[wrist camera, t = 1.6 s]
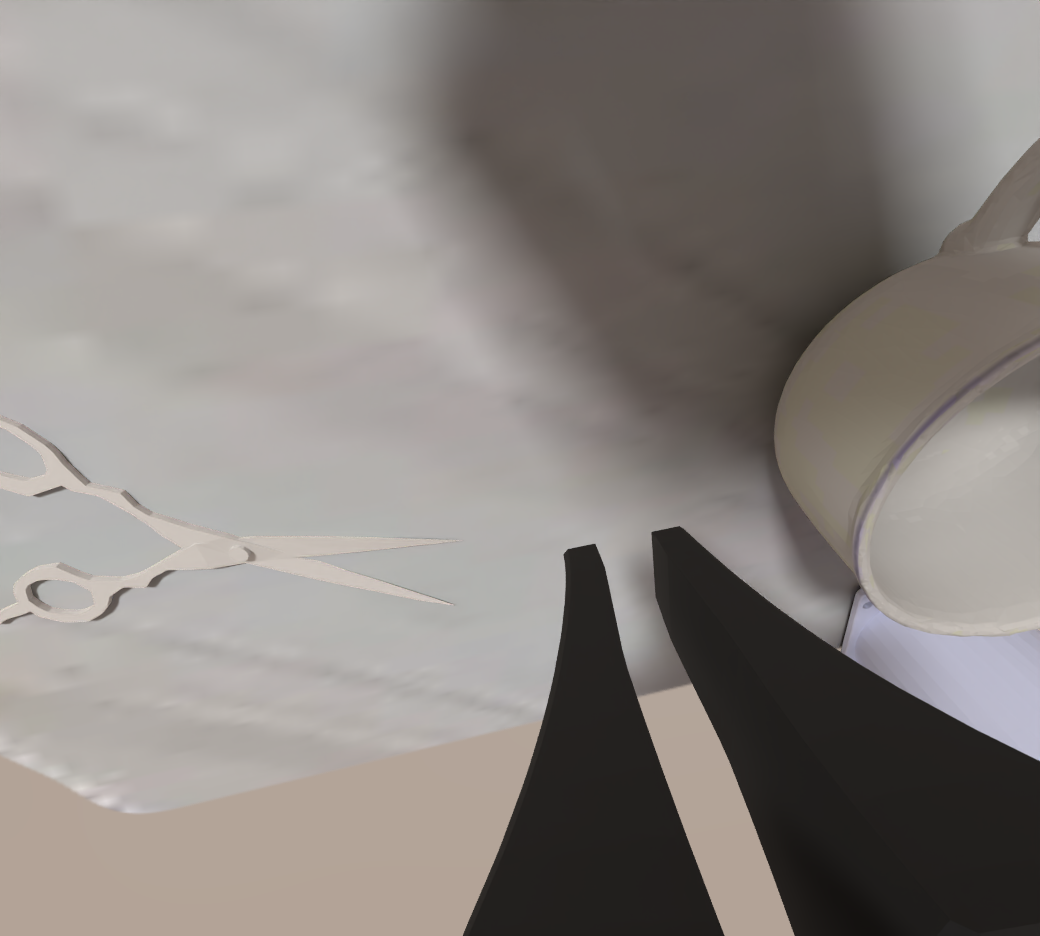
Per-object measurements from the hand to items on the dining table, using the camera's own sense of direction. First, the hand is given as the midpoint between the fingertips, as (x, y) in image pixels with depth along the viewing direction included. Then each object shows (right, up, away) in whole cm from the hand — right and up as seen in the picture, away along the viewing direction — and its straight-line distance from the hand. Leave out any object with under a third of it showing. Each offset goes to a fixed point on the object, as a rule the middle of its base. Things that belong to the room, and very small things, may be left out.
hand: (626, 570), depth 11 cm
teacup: (+11, +7, +7) cm, 15 cm away
